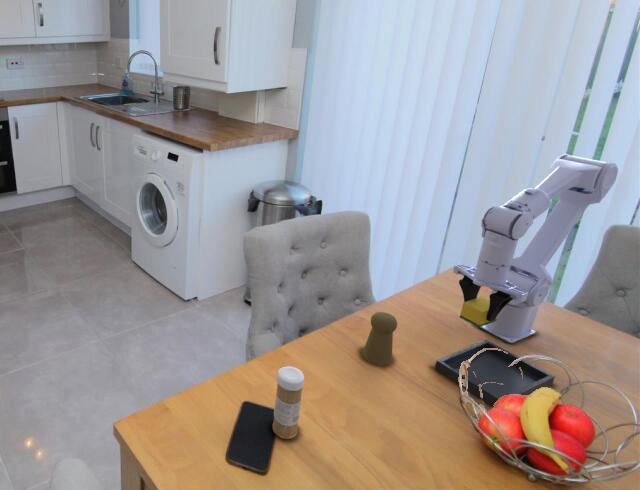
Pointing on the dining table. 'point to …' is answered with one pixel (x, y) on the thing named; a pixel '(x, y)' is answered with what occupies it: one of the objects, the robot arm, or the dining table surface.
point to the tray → (494, 372)
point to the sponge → (476, 311)
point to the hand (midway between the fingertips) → (479, 313)
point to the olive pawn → (380, 339)
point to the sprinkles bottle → (288, 402)
